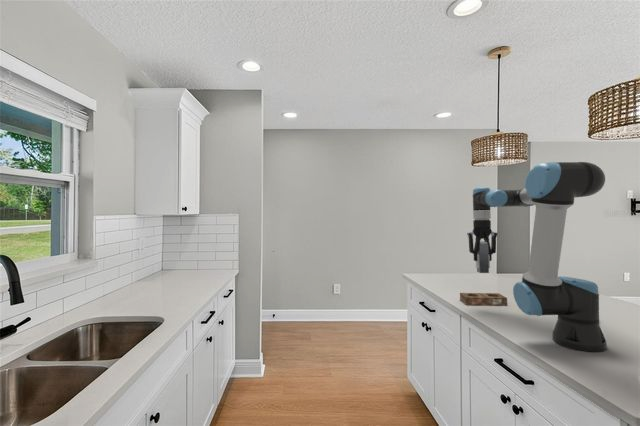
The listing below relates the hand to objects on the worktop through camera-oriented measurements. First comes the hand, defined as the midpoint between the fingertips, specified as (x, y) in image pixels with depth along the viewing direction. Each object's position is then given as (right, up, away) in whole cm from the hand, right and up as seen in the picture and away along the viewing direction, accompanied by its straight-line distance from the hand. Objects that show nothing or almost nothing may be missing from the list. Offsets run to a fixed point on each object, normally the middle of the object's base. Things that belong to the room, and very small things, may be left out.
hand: (482, 267), depth 156 cm
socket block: (+7, -21, +14) cm, 26 cm away
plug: (0, -2, 0) cm, 2 cm away
